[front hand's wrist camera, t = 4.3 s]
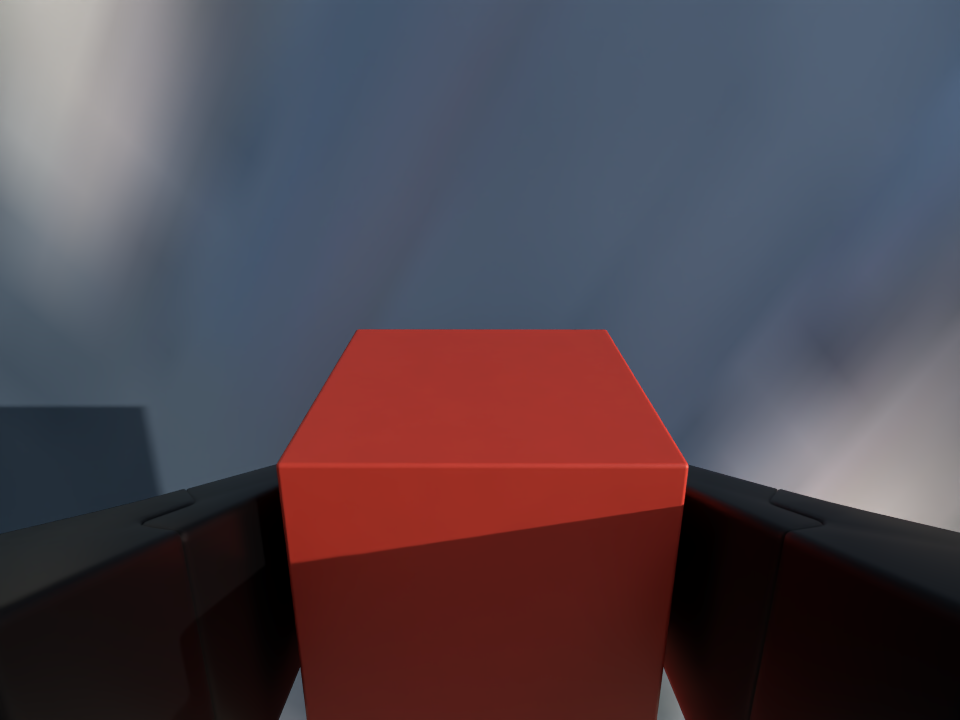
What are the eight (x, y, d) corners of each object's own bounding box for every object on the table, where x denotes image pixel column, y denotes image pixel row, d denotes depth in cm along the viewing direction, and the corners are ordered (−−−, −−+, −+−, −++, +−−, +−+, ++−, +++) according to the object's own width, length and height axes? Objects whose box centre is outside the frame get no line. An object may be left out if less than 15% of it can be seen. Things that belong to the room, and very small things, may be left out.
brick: (371, 550, 13) (312, 779, 9) (356, 328, 11) (274, 464, 7) (591, 550, 13) (650, 779, 9) (606, 328, 11) (691, 465, 7)
